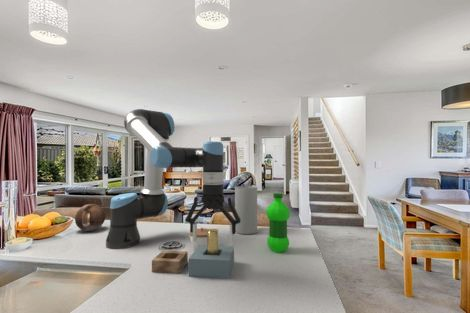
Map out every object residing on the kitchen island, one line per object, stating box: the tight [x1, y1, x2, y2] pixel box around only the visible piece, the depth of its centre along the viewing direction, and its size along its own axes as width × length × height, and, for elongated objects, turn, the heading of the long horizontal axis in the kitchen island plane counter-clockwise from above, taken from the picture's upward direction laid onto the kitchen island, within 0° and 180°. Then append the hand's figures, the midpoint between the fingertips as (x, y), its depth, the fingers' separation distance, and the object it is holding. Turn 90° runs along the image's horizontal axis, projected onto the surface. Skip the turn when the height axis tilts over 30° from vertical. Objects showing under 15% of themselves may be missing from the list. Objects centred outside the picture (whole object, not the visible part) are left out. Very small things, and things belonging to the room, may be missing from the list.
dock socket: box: [188, 245, 235, 279], centre depth 91 cm, size 14×14×6 cm
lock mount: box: [151, 250, 189, 274], centre depth 93 cm, size 10×10×4 cm
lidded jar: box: [189, 227, 209, 251], centre depth 112 cm, size 11×11×9 cm
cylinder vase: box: [234, 185, 258, 235], centre depth 140 cm, size 12×12×25 cm
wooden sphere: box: [74, 203, 107, 232], centre depth 141 cm, size 15×15×15 cm
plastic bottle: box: [266, 192, 291, 253], centre depth 110 cm, size 10×10×25 cm
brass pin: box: [207, 228, 219, 255], centre depth 91 cm, size 4×4×14 cm
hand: (212, 241), depth 91 cm, fingers open, 13 cm apart
